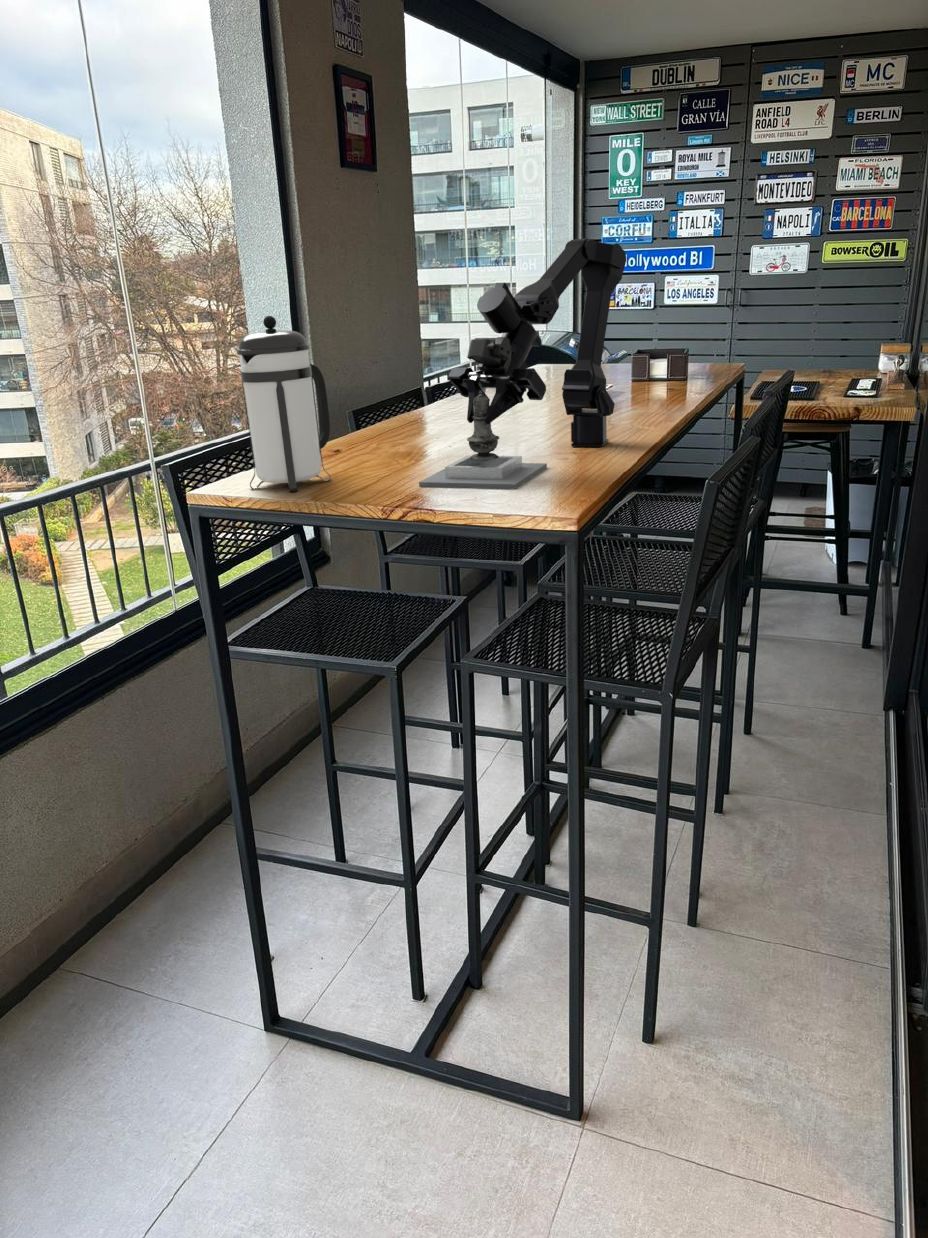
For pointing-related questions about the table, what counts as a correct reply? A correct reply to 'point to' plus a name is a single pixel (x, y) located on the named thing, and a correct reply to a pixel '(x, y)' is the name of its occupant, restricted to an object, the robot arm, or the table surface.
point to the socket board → (507, 483)
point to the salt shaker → (482, 432)
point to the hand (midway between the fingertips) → (477, 422)
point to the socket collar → (483, 468)
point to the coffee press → (283, 406)
